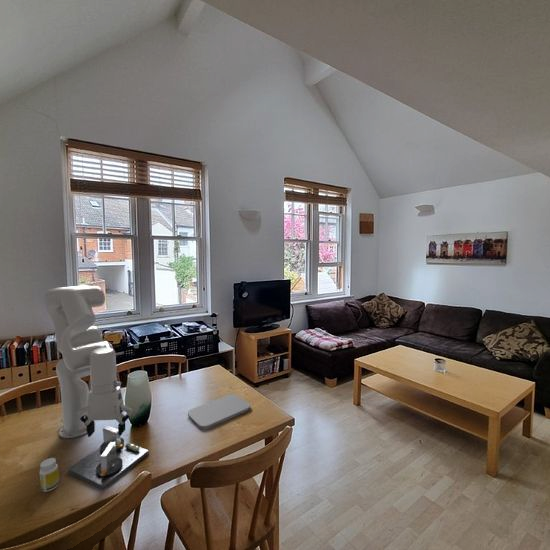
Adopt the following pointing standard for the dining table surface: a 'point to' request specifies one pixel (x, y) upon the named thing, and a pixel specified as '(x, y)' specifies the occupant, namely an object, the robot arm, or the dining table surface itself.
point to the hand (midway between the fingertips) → (106, 433)
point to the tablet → (218, 411)
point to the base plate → (88, 464)
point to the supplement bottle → (49, 475)
